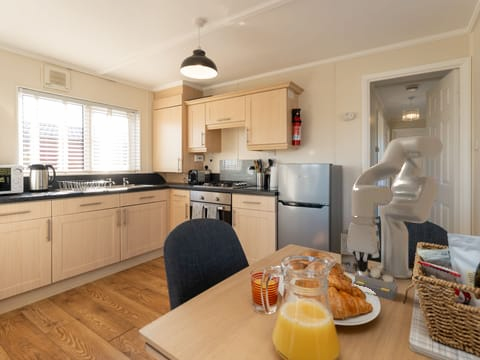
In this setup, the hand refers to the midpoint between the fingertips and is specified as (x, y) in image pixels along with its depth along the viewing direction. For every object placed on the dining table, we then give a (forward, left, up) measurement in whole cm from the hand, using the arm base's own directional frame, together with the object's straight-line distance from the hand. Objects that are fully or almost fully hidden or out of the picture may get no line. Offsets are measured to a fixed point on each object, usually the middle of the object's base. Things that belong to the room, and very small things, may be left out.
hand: (362, 270), depth 94 cm
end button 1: (0, +8, -4) cm, 9 cm away
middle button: (0, +4, -2) cm, 4 cm away
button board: (0, +4, -6) cm, 8 cm away
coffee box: (-15, -10, -7) cm, 19 cm away
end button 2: (0, 0, -4) cm, 4 cm away
